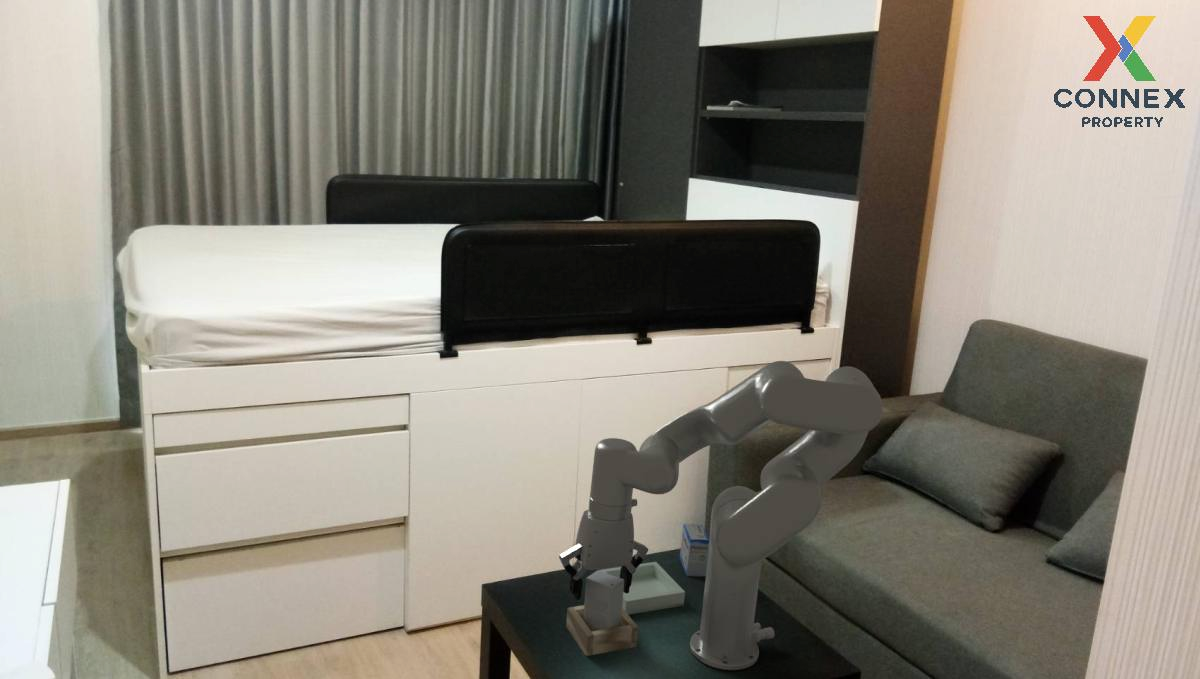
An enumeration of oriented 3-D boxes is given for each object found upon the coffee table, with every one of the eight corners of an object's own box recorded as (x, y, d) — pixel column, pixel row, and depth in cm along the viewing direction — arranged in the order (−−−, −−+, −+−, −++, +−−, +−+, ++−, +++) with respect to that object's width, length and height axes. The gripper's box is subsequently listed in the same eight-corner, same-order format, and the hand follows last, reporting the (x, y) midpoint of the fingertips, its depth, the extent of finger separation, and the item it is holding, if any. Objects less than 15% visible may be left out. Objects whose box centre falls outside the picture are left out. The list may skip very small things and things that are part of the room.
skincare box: (620, 637, 170) (625, 579, 167) (608, 647, 167) (613, 588, 164) (593, 626, 173) (597, 569, 171) (580, 636, 170) (585, 577, 167)
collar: (614, 618, 176) (615, 599, 176) (636, 646, 168) (638, 627, 167) (566, 626, 173) (567, 607, 172) (586, 656, 164) (587, 636, 163)
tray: (654, 574, 195) (655, 561, 194) (683, 605, 183) (685, 591, 182) (598, 583, 189) (599, 569, 189) (624, 615, 178) (626, 601, 177)
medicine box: (679, 559, 202) (682, 523, 200) (698, 559, 203) (702, 523, 201) (686, 576, 195) (690, 539, 193) (706, 577, 195) (710, 539, 193)
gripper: (643, 495, 171) (633, 577, 175) (557, 502, 164) (548, 588, 168) (661, 512, 164) (650, 597, 168) (572, 520, 157) (563, 609, 161)
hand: (599, 592), depth 168 cm, fingers open, 9 cm apart
